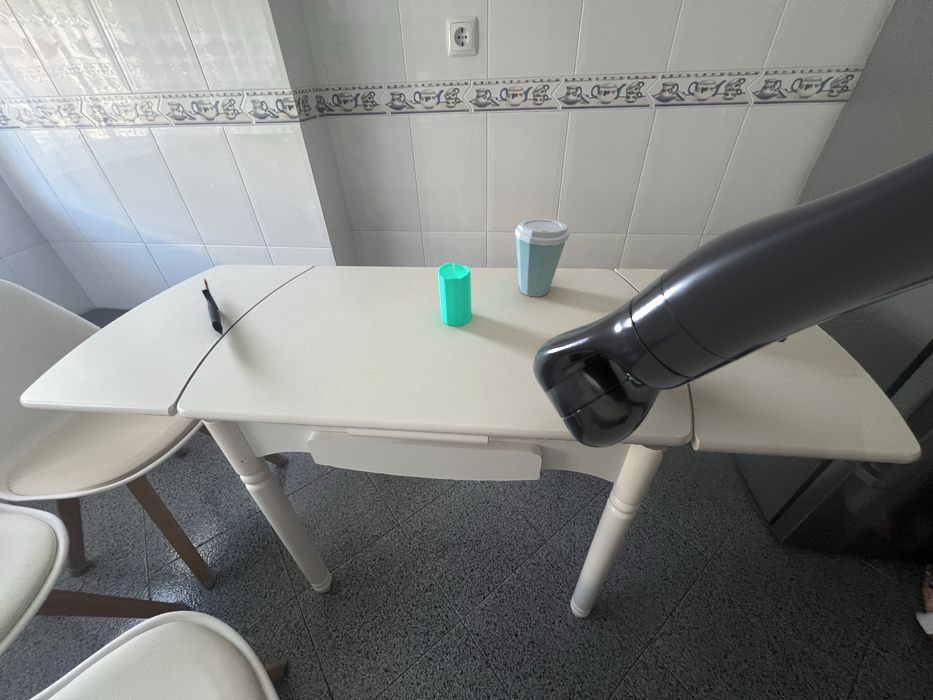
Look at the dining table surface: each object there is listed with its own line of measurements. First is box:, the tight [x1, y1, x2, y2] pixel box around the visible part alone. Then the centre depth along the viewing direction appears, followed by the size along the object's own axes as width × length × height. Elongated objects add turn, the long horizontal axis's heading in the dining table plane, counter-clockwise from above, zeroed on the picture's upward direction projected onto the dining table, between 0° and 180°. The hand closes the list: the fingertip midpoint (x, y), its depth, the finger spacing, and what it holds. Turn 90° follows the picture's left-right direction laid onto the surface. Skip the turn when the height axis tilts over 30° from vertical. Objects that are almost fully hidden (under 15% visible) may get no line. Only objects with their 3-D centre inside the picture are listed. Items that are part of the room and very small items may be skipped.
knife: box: [201, 278, 224, 336], centre depth 76 cm, size 24×2×5 cm, turn 35°
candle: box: [437, 261, 472, 327], centre depth 69 cm, size 6×6×12 cm
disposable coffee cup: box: [514, 217, 570, 298], centre depth 76 cm, size 11×11×15 cm
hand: (763, 280), depth 47 cm, fingers closed on beverage can, 6 cm apart
